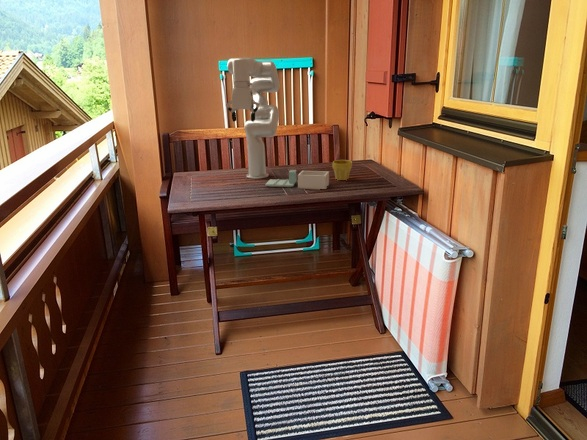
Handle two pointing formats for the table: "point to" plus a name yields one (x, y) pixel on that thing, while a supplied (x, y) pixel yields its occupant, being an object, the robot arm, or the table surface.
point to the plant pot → (342, 169)
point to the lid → (283, 181)
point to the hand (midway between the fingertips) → (243, 121)
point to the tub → (313, 179)
